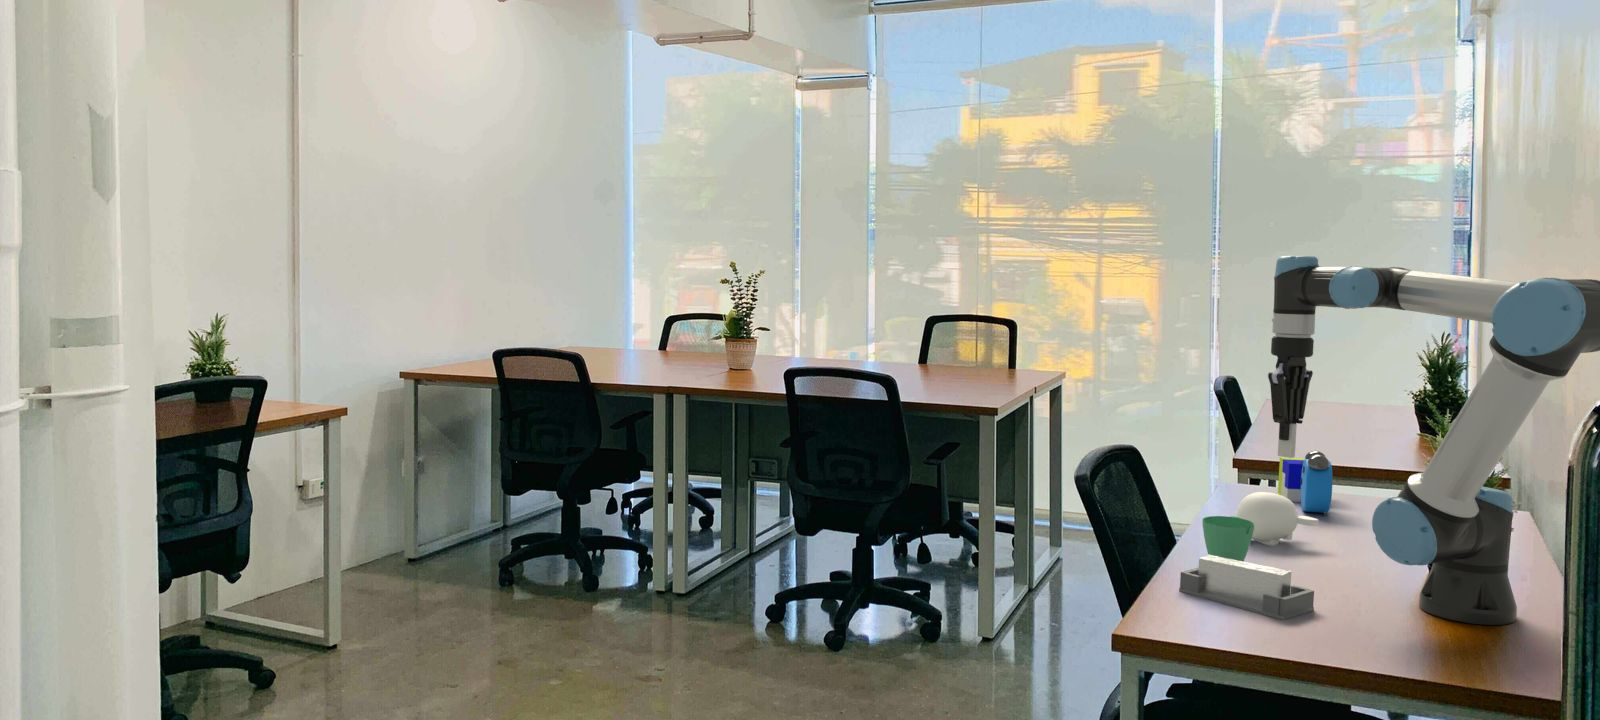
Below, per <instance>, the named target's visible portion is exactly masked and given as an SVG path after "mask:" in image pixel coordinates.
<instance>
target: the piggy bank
mask: <svg viewBox="0 0 1600 720" xmlns="http://www.w3.org/2000/svg"><path fill="white" fill-rule="evenodd" d="M1236 516H1237V517H1239V518H1242V519H1246V520H1249V521H1251V522H1253V523H1254V531H1253V535H1252V539H1251V540H1254V541H1256V542H1258V543H1260V544H1263V545H1267V546H1276V545H1278V544H1280V539H1283V540H1287V541H1291V540H1293V533H1294V531H1295V530H1296V528H1297V525H1298V524H1299V525H1303V526H1310V527H1311V526H1312V527H1316V526H1319V519H1318V518H1315V517H1311V516H1308V515H1307V516H1306V515H1299V514H1298V510H1297V507H1296V505H1295V504H1294V503H1293V501H1290V500H1289V499H1288V498H1286V497H1284V496H1281V495H1279V494H1278V493H1274V492H1268V491H1258V492H1252V493H1250V494H1248V495H1246V496H1245V497H1244V498H1242V500H1241V501H1240V502H1239V504H1238V507H1237V512H1236Z"/></svg>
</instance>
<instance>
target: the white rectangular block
mask: <svg viewBox="0 0 1600 720" xmlns="http://www.w3.org/2000/svg"><path fill="white" fill-rule="evenodd" d="M1198 568H1199V571H1198V575H1199V576H1202V581H1201V591H1205V592H1210V593H1214V594H1219V595H1223V596H1228V597H1232V598H1237V599H1241V600H1245V601H1250V602H1254V603H1259V604H1263V594H1266V593H1267V594H1271V595H1275V596H1279V597H1286V596H1289V595H1290V593H1291V586H1292V585H1291V584H1292V571H1291V570H1287V569H1281V568H1277V567H1272V566H1267V565H1261V564H1257V563H1252V562H1247V561H1244V562H1243V561H1238V560H1233V559H1228V558H1223V557H1218V556H1213V555H1208V554H1207V555H1204V556H1202V557H1199V559H1198Z"/></svg>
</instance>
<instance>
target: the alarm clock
mask: <svg viewBox="0 0 1600 720" xmlns="http://www.w3.org/2000/svg"><path fill="white" fill-rule="evenodd" d="M1304 458H1305V460H1304V462H1303V466H1302V474H1301V502H1300V506H1301V510H1302V511H1303V512H1306V513H1318V514H1319V513H1320V514H1321V513H1322V514H1323V515H1326V514H1328V513H1329V512H1330V509H1331V505H1332V498H1333V497H1332V496H1333V466H1332V462H1331V461H1330V460H1329V459H1328V458H1327V457H1326V455H1325V454H1324V453H1323V452H1321V451H1319V450H1312V451H1309V452H1308V453H1306V454H1305V456H1304ZM1326 516H1327V515H1326Z"/></svg>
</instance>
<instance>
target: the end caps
mask: <svg viewBox="0 0 1600 720" xmlns="http://www.w3.org/2000/svg"><path fill="white" fill-rule="evenodd" d="M1198 571H1199V567H1195V568H1192V569H1187V570H1183V571H1180V575H1179V576H1180V578H1179V581H1180V582H1179V588H1178V591H1179V592H1181V593H1185V594H1188V595H1193V596H1195V597H1199V598H1202V599H1207V600H1211V601H1213V602H1217V603H1221V604H1224V605H1228V606H1232V607H1236V608H1239V609H1243V610H1246V611H1249V612H1252V613H1257V614H1261V615H1263V616H1264V615H1265V616H1267V617H1270V618H1275V619H1277V620H1278V619H1279V620H1282V621H1284V620H1288V619H1292V618H1295V617H1297V616H1300V615H1304V614H1306V613H1310V612H1312V611H1314V610H1315V607H1314V600H1315V590H1312V589H1309V588H1306V587H1302V586H1299V585H1294V584H1293V585H1291V588H1290V595H1289V596H1286V597H1279V596H1275V595H1271V594H1267V593H1266V594H1263V604H1259V603H1254V602H1250V601H1245V600H1241V599H1237V598H1232V597H1228V596H1223V595H1219V594H1214V593H1210V592H1205V591H1201V581H1202V576H1199V575H1198Z"/></svg>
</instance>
